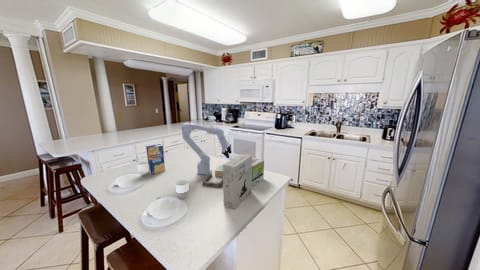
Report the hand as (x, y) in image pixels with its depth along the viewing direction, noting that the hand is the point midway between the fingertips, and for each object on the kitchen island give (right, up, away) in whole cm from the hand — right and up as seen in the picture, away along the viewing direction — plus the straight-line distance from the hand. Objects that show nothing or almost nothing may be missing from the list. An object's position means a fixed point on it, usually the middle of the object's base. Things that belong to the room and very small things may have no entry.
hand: (229, 155), depth 151 cm
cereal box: (+8, -22, -42) cm, 48 cm away
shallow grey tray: (-9, -17, -21) cm, 28 cm away
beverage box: (-60, -13, -4) cm, 61 cm away
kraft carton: (-6, -14, -7) cm, 17 cm away
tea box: (+19, -17, -19) cm, 31 cm away
